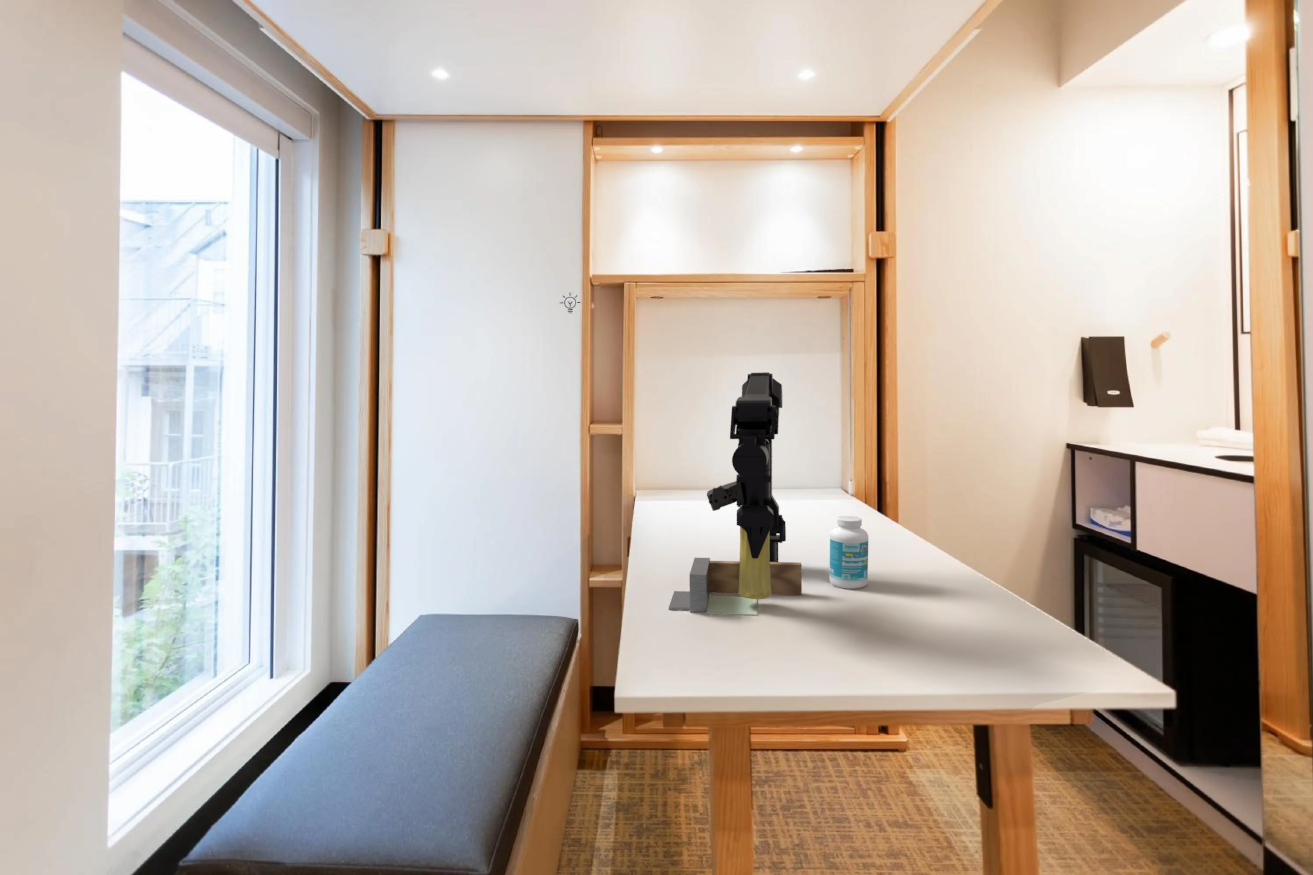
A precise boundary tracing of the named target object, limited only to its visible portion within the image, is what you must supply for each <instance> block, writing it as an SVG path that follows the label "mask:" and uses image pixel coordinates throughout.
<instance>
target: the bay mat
mask: <svg viewBox="0 0 1313 875" xmlns="http://www.w3.org/2000/svg"><path fill="white" fill-rule="evenodd" d="M705 614H706V615H724V616H725V615H728V616H729V615H731V616H732V615H734V616H758V599H749V598H745V597H742V596H724V595H723V596H722V595H719V596H717V595H716V596H715V595H710V597H709V602H708V608H707V612H706V613H705Z"/></svg>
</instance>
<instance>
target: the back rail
mask: <svg viewBox="0 0 1313 875" xmlns="http://www.w3.org/2000/svg"><path fill="white" fill-rule="evenodd" d="M802 567H803V565H802V562H796V561H795V562H793V561H792V562H789V561H787V562H786V561H778V562H770V576H771V590H772V595H775V596H776V595H777V596H778V595H779V596H780V595H782V596H802V595H803V592H802V590H803V589H802V586H803V584H802V581H803V578H802V573H803V572H802V570H803V569H802ZM739 572H740V560H738V561H737V560H710V594H738V595H739V593H738V590H739Z"/></svg>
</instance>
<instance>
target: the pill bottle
mask: <svg viewBox="0 0 1313 875" xmlns="http://www.w3.org/2000/svg"><path fill="white" fill-rule="evenodd" d="M862 522H863V521H862V518H860V517H858V516H854V515H852V516H851V515H841V516H838V517H837V519H836V524H837V527H834V528H833V529H832V530H831V531H830V534H829V571H828V572H829V573H828V574H829V582H830V583H831V584H832V585H833V586H835V587H838V588H841V589H852V590H853V589H854V590H855V589H862V588H864V587H866V585H868V580H869V578H868V573H869V534H868V532H867V531H866V530H865V529H863V528H862V527H861V526H862V525H863V524H862Z"/></svg>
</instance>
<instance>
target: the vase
mask: <svg viewBox="0 0 1313 875" xmlns="http://www.w3.org/2000/svg"><path fill="white" fill-rule="evenodd" d="M739 539H740V540H739V561H740V572H739V590H738V593H739V594H738V595H739V597H745V598H749V599H757V600H762V599H767V598H769V597H771V596H772V595H773V594H772V590H771V576H770V531H769V533H768V535H767V538H766V540H765V542H764V545H763V547H762V550H761V552H760V554H759V557H758V558H752V556H751V552H750V547H749V542H748V538H747V533H746V531H745V530H744V529H743V528H742V527H740V526H739Z"/></svg>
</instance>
